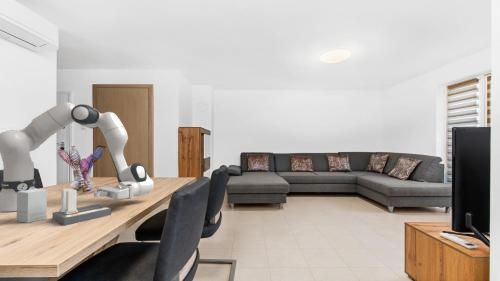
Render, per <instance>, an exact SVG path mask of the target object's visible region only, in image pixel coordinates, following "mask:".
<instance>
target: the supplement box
mask: <svg viewBox="0 0 500 281" xmlns="http://www.w3.org/2000/svg"><path fill="white" fill-rule="evenodd" d="M47 204H48V189H43V188H42V189H40V188H37V189H31V190H25V191H19V192H17V211H16V222H18V223H19V222H20V223H26V224H28V223H29V224H30V223H33V222H37V221H40V220H43V219H44V220H45V219H47V216H48V215H47V213H48V209H47V207H48V205H47Z"/></svg>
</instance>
